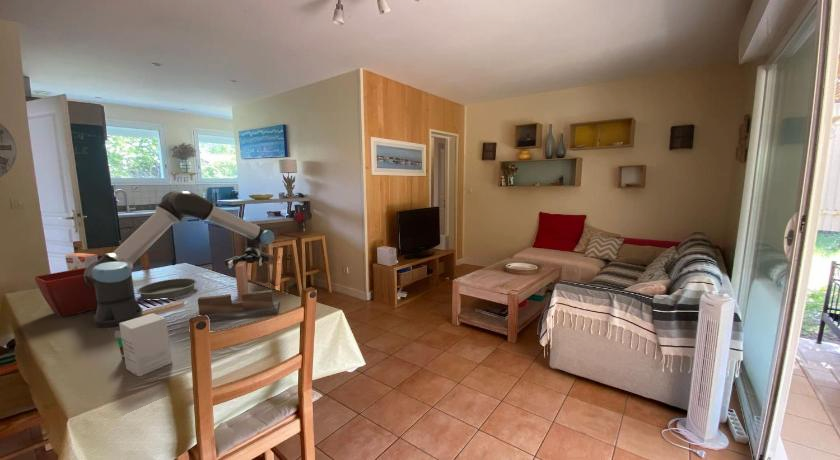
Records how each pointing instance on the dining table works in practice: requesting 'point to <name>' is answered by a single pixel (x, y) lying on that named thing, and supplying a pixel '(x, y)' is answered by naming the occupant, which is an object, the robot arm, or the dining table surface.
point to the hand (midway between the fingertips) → (244, 264)
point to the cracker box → (80, 260)
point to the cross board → (243, 313)
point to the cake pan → (167, 289)
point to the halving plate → (241, 279)
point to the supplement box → (145, 344)
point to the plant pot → (67, 292)
